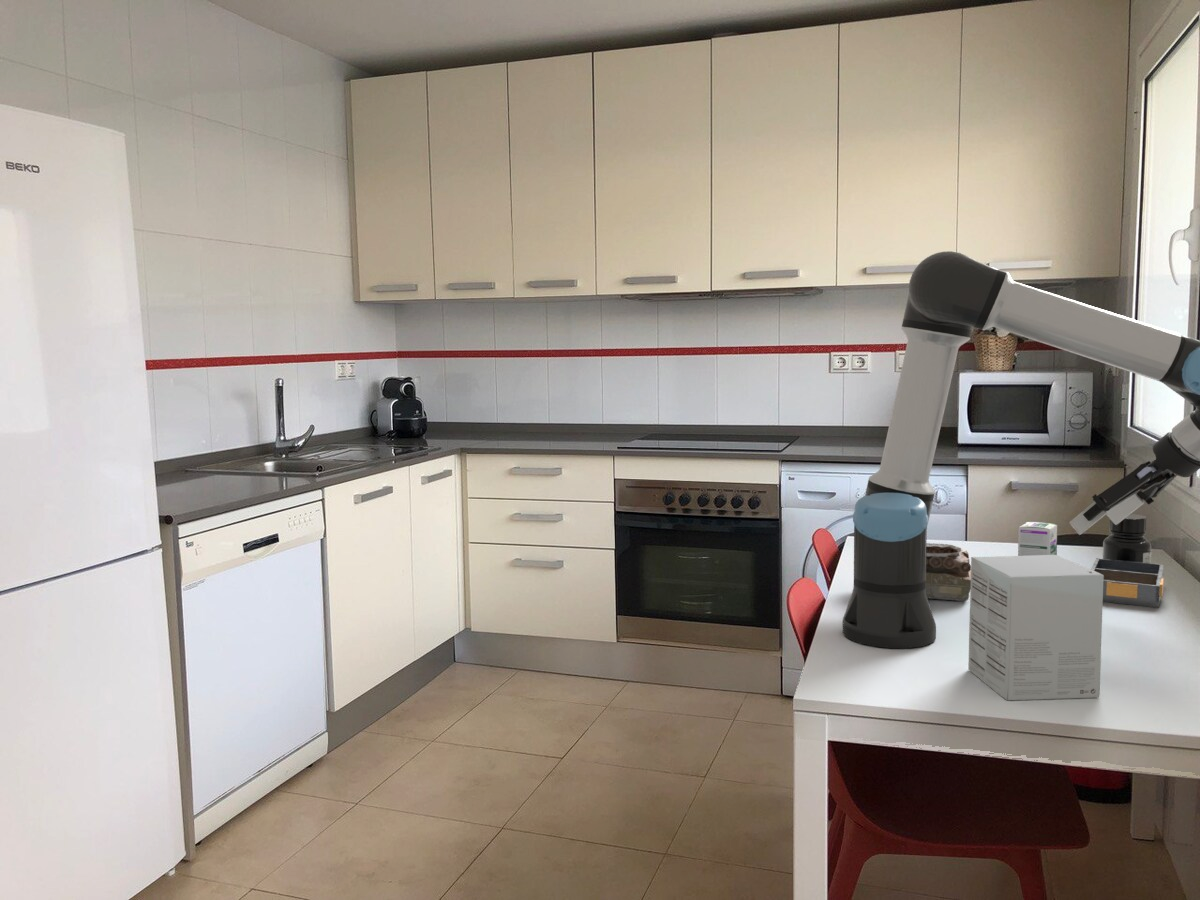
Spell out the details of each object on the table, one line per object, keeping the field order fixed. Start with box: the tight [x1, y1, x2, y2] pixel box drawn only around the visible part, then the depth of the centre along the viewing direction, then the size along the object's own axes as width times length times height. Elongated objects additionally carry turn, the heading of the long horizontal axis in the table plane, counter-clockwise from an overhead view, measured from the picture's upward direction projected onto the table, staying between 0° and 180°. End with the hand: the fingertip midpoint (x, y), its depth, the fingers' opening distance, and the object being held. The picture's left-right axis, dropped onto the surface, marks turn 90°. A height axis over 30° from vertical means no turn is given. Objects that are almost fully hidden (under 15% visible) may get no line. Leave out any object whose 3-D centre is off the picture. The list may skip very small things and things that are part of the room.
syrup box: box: [1017, 521, 1058, 556], centre depth 180 cm, size 6×6×14 cm
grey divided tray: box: [1090, 557, 1165, 608], centre depth 185 cm, size 20×12×4 cm, turn 148°
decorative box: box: [926, 542, 971, 602], centre depth 183 cm, size 13×20×10 cm, turn 65°
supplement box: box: [967, 555, 1104, 701], centre depth 136 cm, size 13×13×18 cm
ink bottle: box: [1102, 513, 1152, 563], centre depth 200 cm, size 10×9×12 cm
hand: (1093, 523), depth 171 cm, fingers open, 13 cm apart
